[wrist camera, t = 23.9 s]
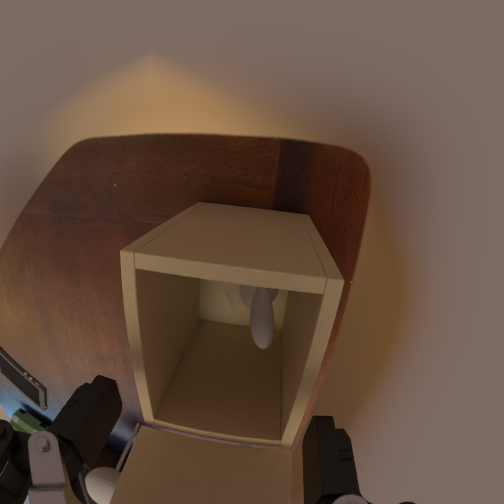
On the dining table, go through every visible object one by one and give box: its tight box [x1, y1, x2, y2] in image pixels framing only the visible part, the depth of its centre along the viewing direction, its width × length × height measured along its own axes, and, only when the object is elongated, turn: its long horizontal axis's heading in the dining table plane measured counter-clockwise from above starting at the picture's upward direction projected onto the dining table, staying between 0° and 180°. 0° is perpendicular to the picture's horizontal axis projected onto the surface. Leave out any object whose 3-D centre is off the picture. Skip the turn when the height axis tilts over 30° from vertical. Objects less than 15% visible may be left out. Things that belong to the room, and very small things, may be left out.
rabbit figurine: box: [225, 284, 279, 349], centre depth 19 cm, size 6×4×8 cm, turn 166°
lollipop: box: [85, 423, 140, 504], centre depth 26 cm, size 6×6×15 cm
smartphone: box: [0, 348, 46, 411], centre depth 34 cm, size 15×8×1 cm, turn 60°
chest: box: [120, 202, 344, 447], centre depth 18 cm, size 11×9×13 cm
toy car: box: [10, 408, 49, 434], centre depth 37 cm, size 12×30×10 cm, turn 167°
